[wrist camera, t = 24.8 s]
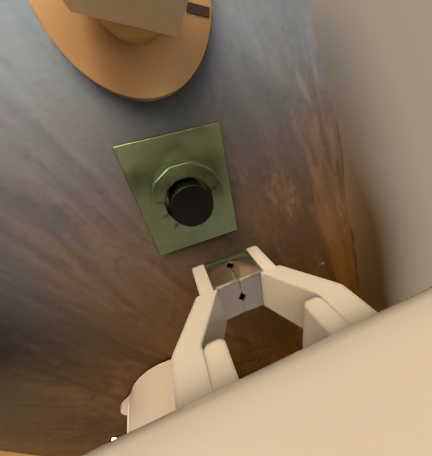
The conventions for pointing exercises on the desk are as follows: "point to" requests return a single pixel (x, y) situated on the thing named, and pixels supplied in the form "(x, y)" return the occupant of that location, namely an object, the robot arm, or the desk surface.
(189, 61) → the stand
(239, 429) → the robot arm
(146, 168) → the base
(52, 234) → the desk surface
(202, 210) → the button
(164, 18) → the tan cube with screen
